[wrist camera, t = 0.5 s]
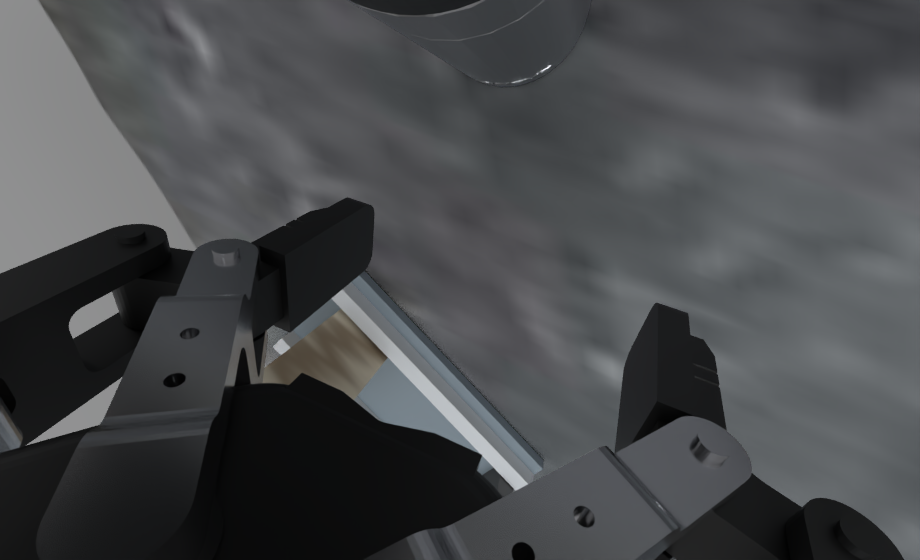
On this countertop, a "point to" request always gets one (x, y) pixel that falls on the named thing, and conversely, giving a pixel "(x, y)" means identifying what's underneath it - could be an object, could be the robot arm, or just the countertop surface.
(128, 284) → the robot arm
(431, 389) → the chute
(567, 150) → the countertop surface
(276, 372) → the block
